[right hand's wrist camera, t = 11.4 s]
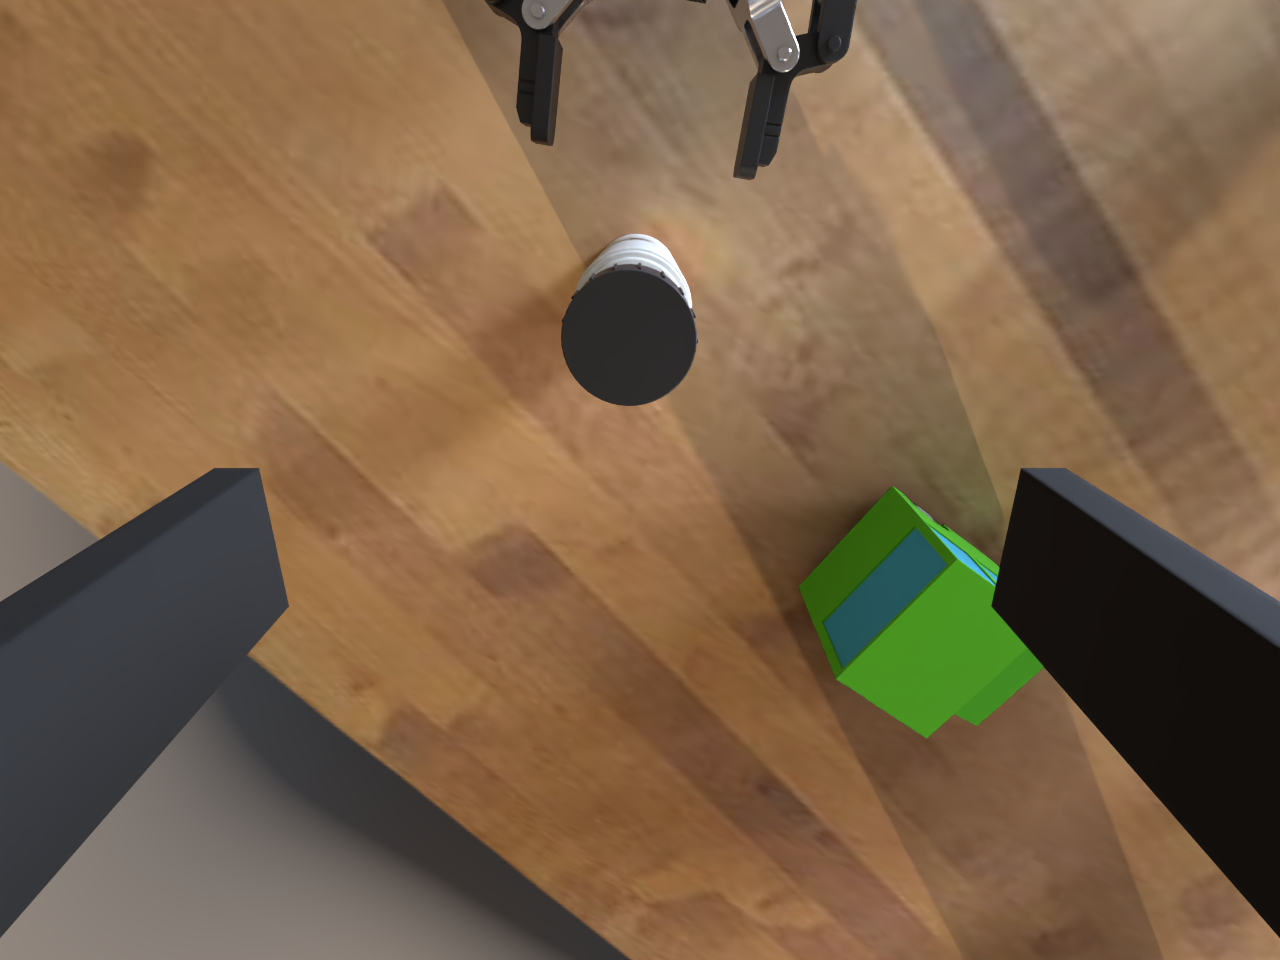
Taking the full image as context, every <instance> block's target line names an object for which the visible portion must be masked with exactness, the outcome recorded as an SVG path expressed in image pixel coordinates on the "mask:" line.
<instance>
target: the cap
mask: <svg viewBox="0 0 1280 960" xmlns="http://www.w3.org/2000/svg"><path fill="white" fill-rule="evenodd" d="M684 295H685V294H684V292H683V290H682V288H681V287H679V288H678V286H677V285H676V284H675V283H674V282H673V281H672V280H671V279H670V278H669V277H667V276H666V275H665V273H664V272H663V271H661V272H659V271H658V270H656V269H653V268H650V267H648V266H643V265H641V263H638V264H622V265H617V263H616V264H614V266H613V267H610V268H607V269H605V270H603V271H601V272H599V273H597V274H595V273H593V274H592V275H591V277H590V278H589V280H588V281H587V282H586V283H585V284H584V285H583V287H582V288H581V289H580V290H579V291H578V290H577V291H576V292H575V293H574V295H573V296H572V297H571V299H573V300H572V301H571V303H570V305H569V307H568V309H567V311H566V314H565V316H564V318H563V319H562V322H563V325H562V333H561V342H562V350H563V355H564V358H565V361H566V364H567V366H568V368H569V370H570V372H571V373H572V375H573V376H574V378H575V379H576V380H577V381H578V383H579V384H580V385H581V386H582V387H583V388H584V389H585V390H587V391H588V392H589V393H591V394H592V395H594V396H595V397H597V398H599V399H601V400H603V401H606V402H609V403H612V404H616V405H624V406H637V405H643V404H647V403H650V402H653V401H656V400H658V399H660V398H662V397H664V396H665V395H667V394H668V393H670V392H671V391H672V390H673V389H675V388H676V387H677V386H678V385H679V384H680V383H681V381H682V380H683V379H684V377H685V376H686V374H687V373H688V371H689V369H690V367H691V365H692V362H693V360H694V356H695V352H696V345H697V343H698V340H697V331H696V324H695V321H694V318H696V317H695V314H694V312H693V310H692V308H690V307H689V305H688V303H687V300H686V298H685V296H684Z"/></svg>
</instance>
